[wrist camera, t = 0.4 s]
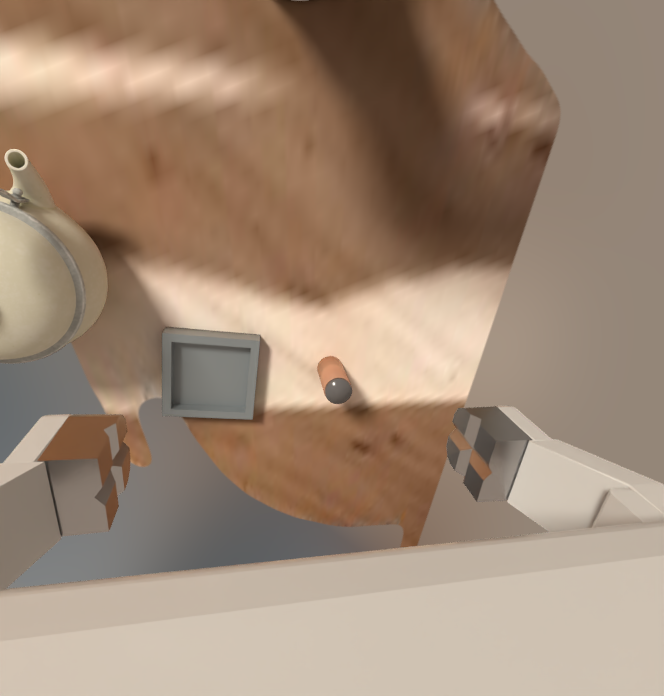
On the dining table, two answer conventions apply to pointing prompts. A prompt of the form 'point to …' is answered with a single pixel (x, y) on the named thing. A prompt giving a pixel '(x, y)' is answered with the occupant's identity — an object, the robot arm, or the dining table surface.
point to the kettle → (43, 270)
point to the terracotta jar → (334, 380)
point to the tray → (208, 373)
